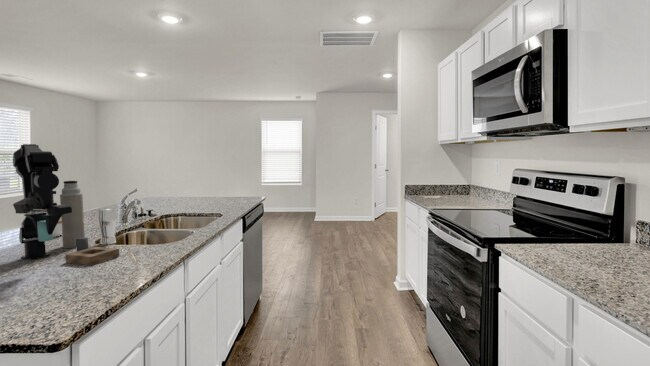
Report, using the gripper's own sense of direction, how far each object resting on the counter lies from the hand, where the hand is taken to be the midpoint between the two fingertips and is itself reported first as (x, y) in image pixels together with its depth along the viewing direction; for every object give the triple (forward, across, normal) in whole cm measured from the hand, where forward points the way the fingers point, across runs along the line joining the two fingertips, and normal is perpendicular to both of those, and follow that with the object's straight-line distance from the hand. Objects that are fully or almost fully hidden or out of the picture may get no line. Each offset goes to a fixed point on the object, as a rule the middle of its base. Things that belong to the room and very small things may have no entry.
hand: (45, 234), depth 130 cm
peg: (+2, 0, 0) cm, 2 cm away
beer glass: (+12, -11, +36) cm, 39 cm away
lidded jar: (+12, -49, +41) cm, 65 cm away
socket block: (+12, +6, +13) cm, 19 cm away
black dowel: (+12, -6, +19) cm, 23 cm away
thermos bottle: (+12, -21, +28) cm, 37 cm away
